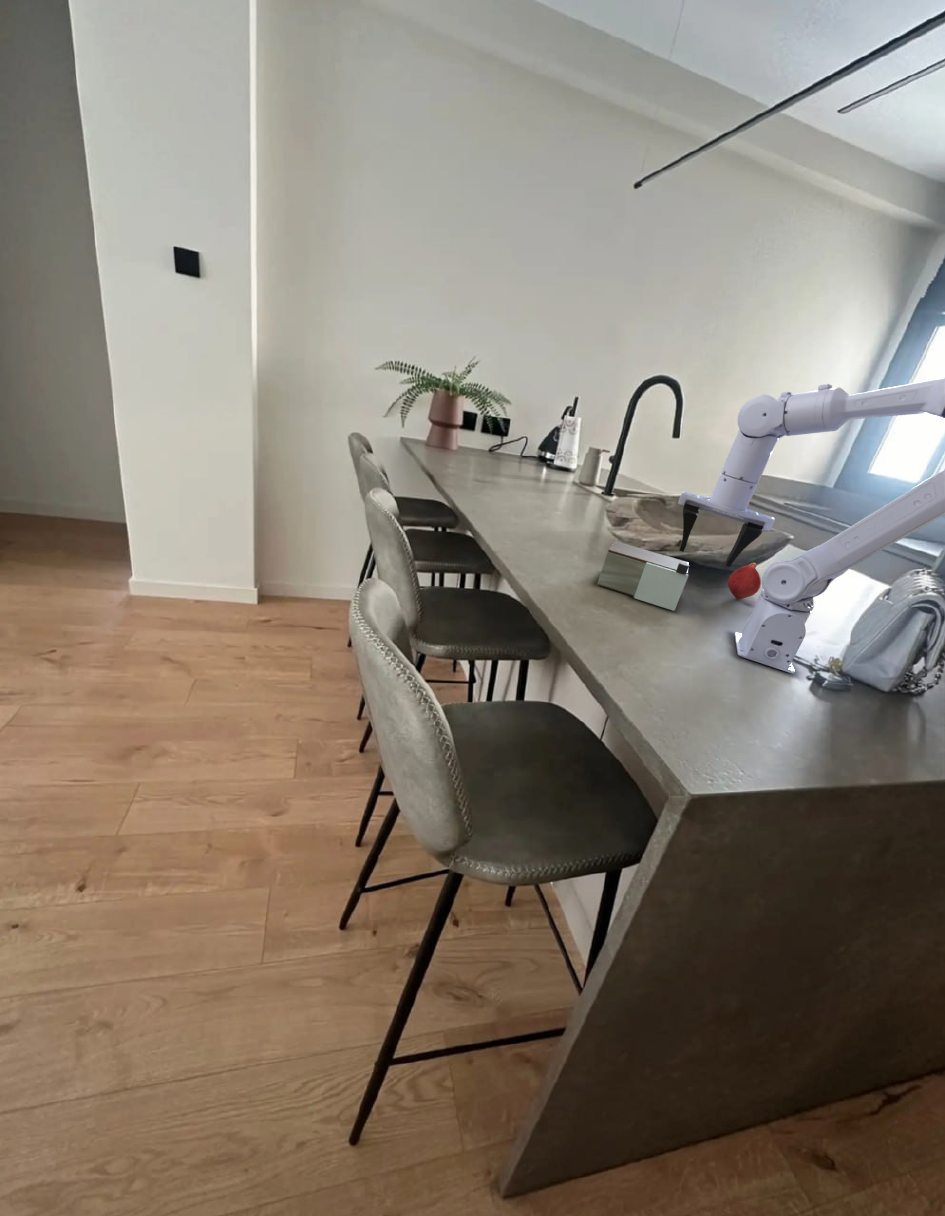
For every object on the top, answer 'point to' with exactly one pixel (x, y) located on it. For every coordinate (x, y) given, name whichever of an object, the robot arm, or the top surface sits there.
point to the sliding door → (662, 585)
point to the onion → (744, 581)
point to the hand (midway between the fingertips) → (704, 557)
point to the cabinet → (630, 567)
